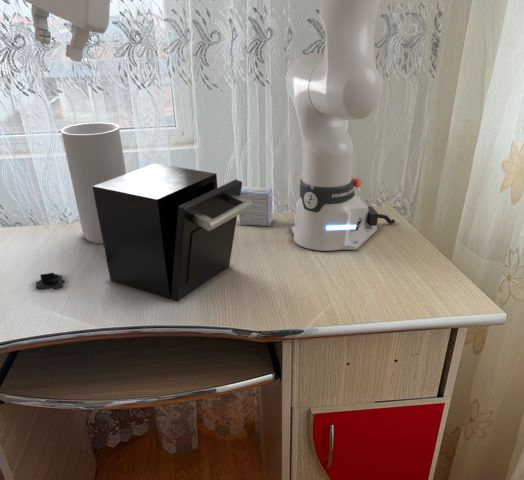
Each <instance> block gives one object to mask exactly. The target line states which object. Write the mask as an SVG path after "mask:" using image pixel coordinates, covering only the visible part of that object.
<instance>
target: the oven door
mask: <svg viewBox="0 0 524 480" xmlns="http://www.w3.org/2000/svg"><path fill="white" fill-rule="evenodd" d="M242 187H243V181H241V180H238V179H237V178H236V179H234V180H232V181H229V182H227V183H225V184H222V185H221V186H218V187H217V188H216V189H214V190H212V191H210V192H208V193H206V194H204V195H202V196H200V197H197V198H195V199H193V200H191V201H189V202H187V203H185V204H183V205H181V206H178V216H177V229H176V242H175V255H174V268H173V281H172V294H171V299H170V300H173V301H175V302H179V301H181V300H182V299H184V298H185V297H187V296H188V295H190V294H191V293H192V292H194V291H196V290H197V289H199V288H200V287H201V286H203V285H204V284H206V283H207V282H209V281H211V280H212V279H214V278H215V277H216V276H218V275H219V274H222V273H223V272H224V271H225V270H227V269H229V268H230V265H231V257H232V251H233V245H234V240H235V239H234V238H235V231H236V226H237V220H238V216H239V214H241V213H243V212H244V211H246V210H248V209H250V208H251V207H252V206H253V203H252V201H251V200H248V199H246V198H243V197H241V196H240V194H241V188H242Z"/></svg>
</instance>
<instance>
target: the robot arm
mask: <svg viewBox="0 0 524 480" xmlns="http://www.w3.org/2000/svg"><path fill="white" fill-rule="evenodd" d="M23 2H26V3H27V4H30V5H31V9H30V10H31V18H32V21H33V26H34V40H35V42H38V43H40V44H43V45H49V44H50V43H51V35H52V31H49V24H48V22H49V21H48V19H49V18H50V15H53V16H55V17H56V18H59V19H60V20H62V21H65V22H67V23H69V24H70V25H71V26H70V33H71V34H72V35H71V39H70V42H69V43H68V44H67V43H66V46H65V48H66V49H65V57H66V58H67V59H69V60H71V61H73V62H77V63H80V62H82V60H83V53H84V49H85V47H86V45H87V43H88V41H89V40H90V34H91V33H95V34H100V35H104V34H105V33H106V31H107V29H108V28H109V23H110V12H111V11H110V9H111V0H23ZM380 4H381V0H321V2H320V7H319V13H318V15H319V20H320V24H321V25H322V27H323V30H324V38H325V39H324V40H325V49H324V53H319V52H315V53H309V54H306V55H303V56H299V57H297V58H296V59H294V61H292V63H291V64H290V66H289V67H288V69H287V72H286V76H285V88H286V92H287V94H288V96H289V98H290V100H291V101H292V103H293V106H294V109H295V113H296V117H297V121H298V127H299V132H300V137H301V145H302V154H301V155H302V156H301V157H302V160H301V161H302V164H301V166H302V167H301V168H302V170H301V179H300V180H299V181H300V182H299V188H298V189H299V197H300V198H299V199H298V200H297V204H296V211H295V221H294V225H293V226H292V227H291V233H292V234H293V241H294V243H295V244H297V245H298V246H300V247H302V248H305V249H309V250H312V251H321V252H322V251H323V252H330V251H331V252H332V251H342V250H344V251H355V250H358V249H359V248H360V247H361V246H363V244H364V243H365V242H367V240H368V239H369V238H371V237H372V236H373V235H374V234H375V233H376V232H377V231H378V222H379V221H378V219H383V220H385V221H386V222H387V223H388V224H390V225H391V224H395V223H396V220H395V219H394V218H392V219H391V218H390V217H389V216H388V215H386V214H381V213H378V212H377V211H376V209H375V208H374V207H373V206H370V205H369V206H368V204H367V203H365V202H364V201H363V200H362V199H360V198H359V197H358V196H357V195H356V192H355V188H360V187H361V185H362V179H361V178H356V177H352V176H353V175H352V174H353V161H354V149H355V148H354V143H353V140H352V138H351V137H350V134H349V133H348V131H347V128H346V124H345V121H353V120H363V119H365V118H368V117H369V116H370V115H372V114H373V113H374V112H375V111H376V110H377V108H378V106H379V104H380V102H381V99H382V96H383V91H384V89H383V88H384V87H383V86H384V85H383V79H382V77H381V73H380V71H379V70H378V67H377V63H376V59H375V58H376V57H375V31H376V22H377V18H378V17H377V16H378V13H379V8H380Z"/></svg>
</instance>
